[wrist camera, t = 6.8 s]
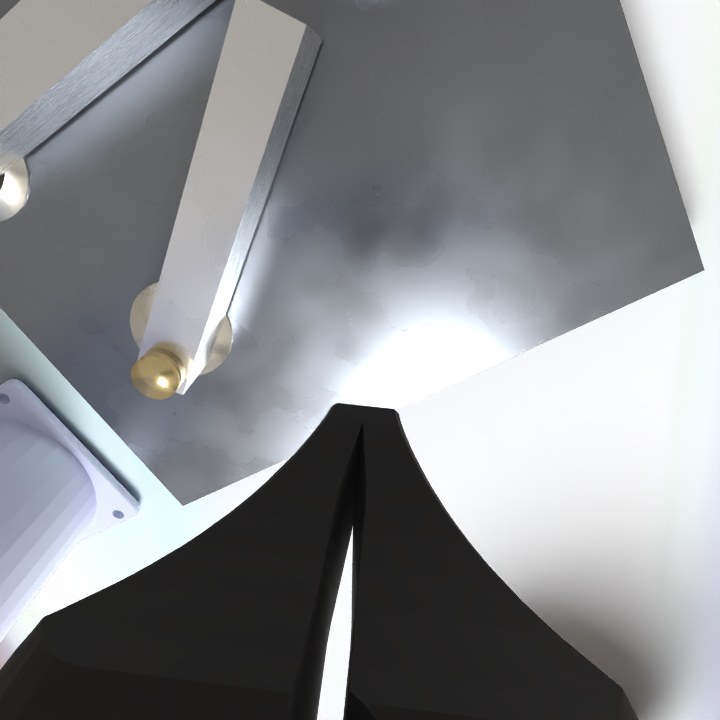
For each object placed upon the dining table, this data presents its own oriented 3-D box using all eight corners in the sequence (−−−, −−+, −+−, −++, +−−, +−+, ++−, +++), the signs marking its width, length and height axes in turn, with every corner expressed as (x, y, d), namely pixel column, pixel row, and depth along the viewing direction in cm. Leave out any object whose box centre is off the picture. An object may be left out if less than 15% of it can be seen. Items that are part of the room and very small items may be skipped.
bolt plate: (196, 482, 23) (138, 585, 18) (-174, 64, 16) (-430, 44, 11) (679, 257, 17) (796, 319, 12) (408, -564, 10) (412, -1219, 5)
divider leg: (265, 9, 13) (230, -18, 10) (322, 38, 13) (301, 20, 10) (165, 344, 18) (122, 387, 15) (208, 363, 18) (173, 407, 15)
